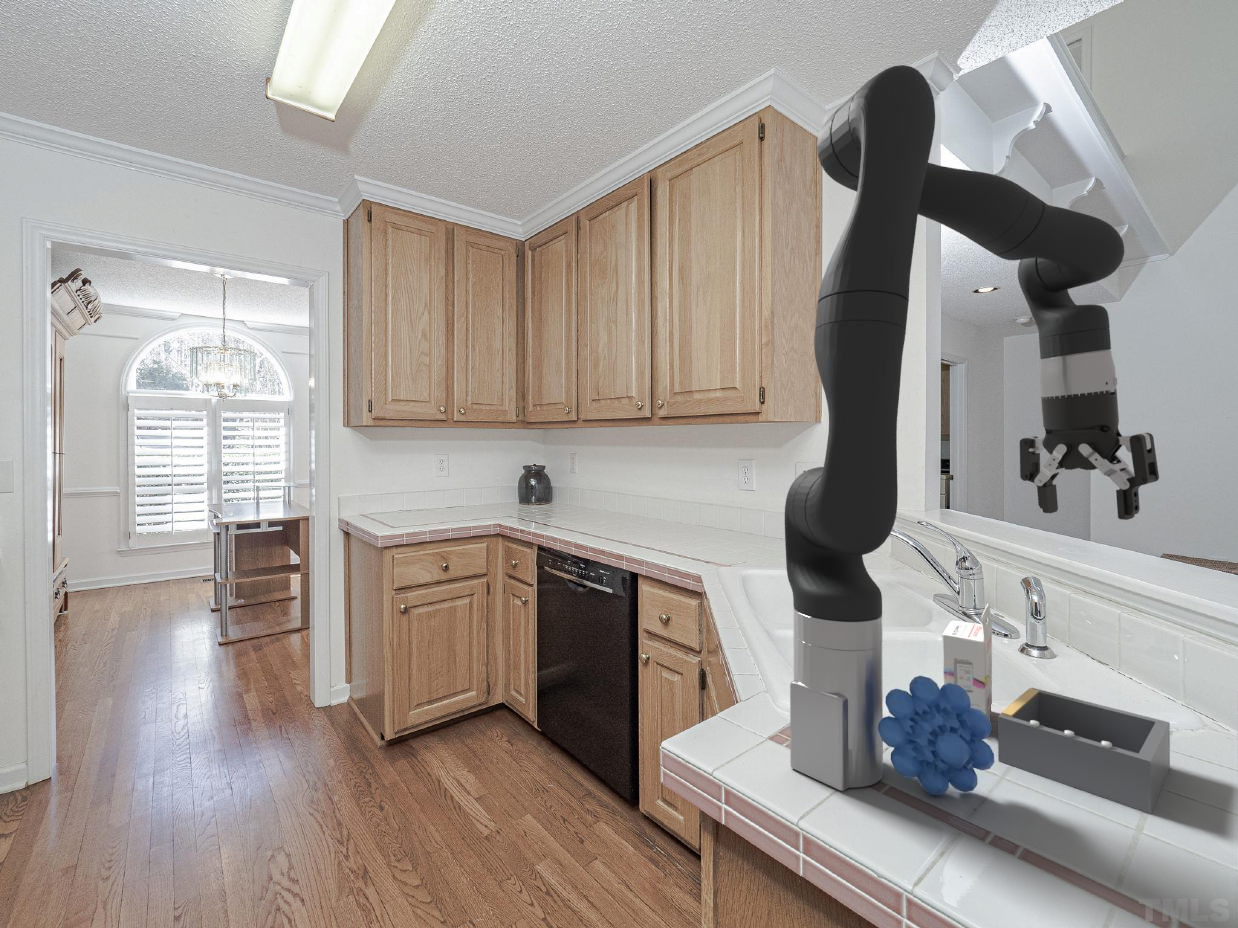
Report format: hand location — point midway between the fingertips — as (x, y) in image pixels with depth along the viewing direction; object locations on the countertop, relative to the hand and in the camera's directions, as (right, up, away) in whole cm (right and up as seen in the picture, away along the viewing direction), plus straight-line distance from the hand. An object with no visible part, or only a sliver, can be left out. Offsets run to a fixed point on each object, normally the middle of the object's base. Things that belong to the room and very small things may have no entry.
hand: (1086, 515), depth 73 cm
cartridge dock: (-9, -27, -10) cm, 30 cm away
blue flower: (-28, -27, -17) cm, 43 cm away
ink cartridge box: (-15, -27, +1) cm, 31 cm away
